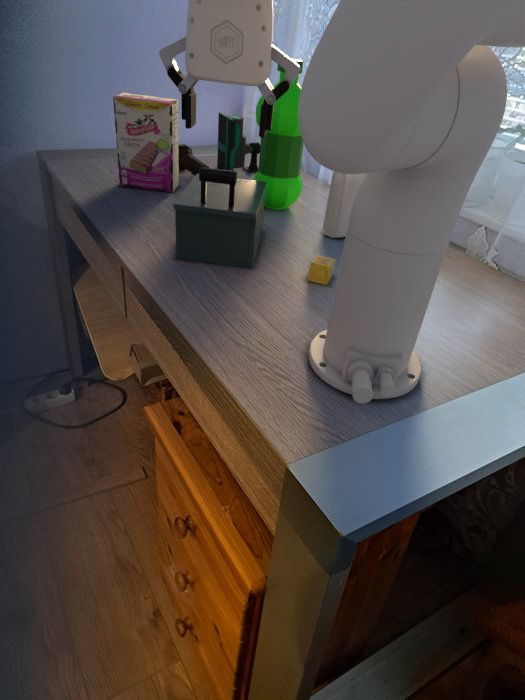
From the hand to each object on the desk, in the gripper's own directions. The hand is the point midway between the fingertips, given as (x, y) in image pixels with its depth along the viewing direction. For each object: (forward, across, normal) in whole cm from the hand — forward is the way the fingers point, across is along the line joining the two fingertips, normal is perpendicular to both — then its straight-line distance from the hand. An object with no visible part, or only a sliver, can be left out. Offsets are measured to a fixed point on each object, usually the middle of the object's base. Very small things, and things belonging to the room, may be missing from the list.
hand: (226, 131), depth 64 cm
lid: (+10, -1, +5) cm, 11 cm away
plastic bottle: (+18, +6, +27) cm, 33 cm away
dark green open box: (+18, -1, +5) cm, 19 cm away
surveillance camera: (+19, -4, +48) cm, 51 cm away
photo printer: (+18, +20, +17) cm, 32 cm away
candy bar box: (+19, -20, +29) cm, 40 cm away
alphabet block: (+18, +15, -3) cm, 24 cm away
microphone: (+19, -12, +38) cm, 44 cm away
